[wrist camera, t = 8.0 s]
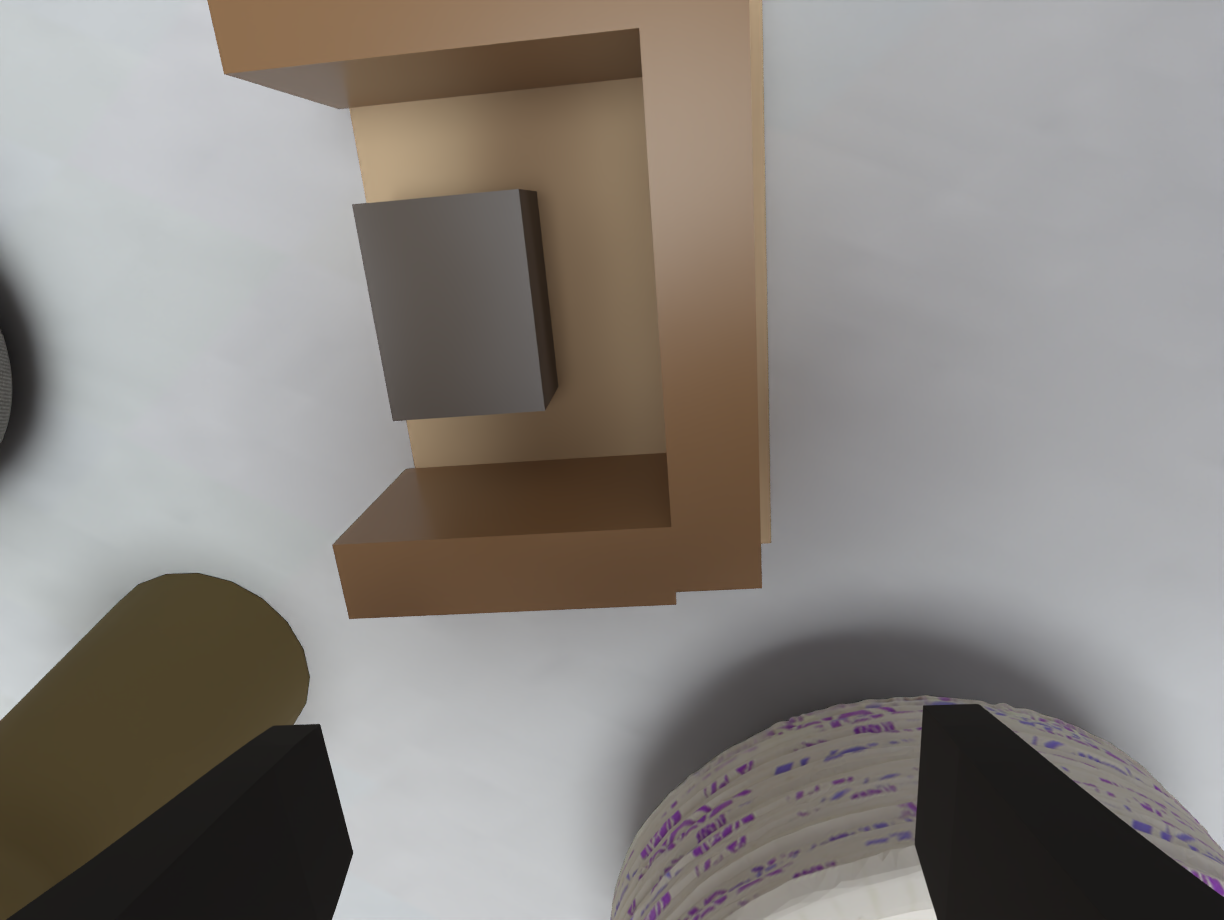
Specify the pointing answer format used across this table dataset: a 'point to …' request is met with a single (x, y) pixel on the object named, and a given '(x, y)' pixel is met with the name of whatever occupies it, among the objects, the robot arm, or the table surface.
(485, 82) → the wooden c-shaped bracket
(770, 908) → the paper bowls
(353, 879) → the table surface
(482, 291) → the display stand
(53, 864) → the olive pepper mill
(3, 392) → the smart speaker
